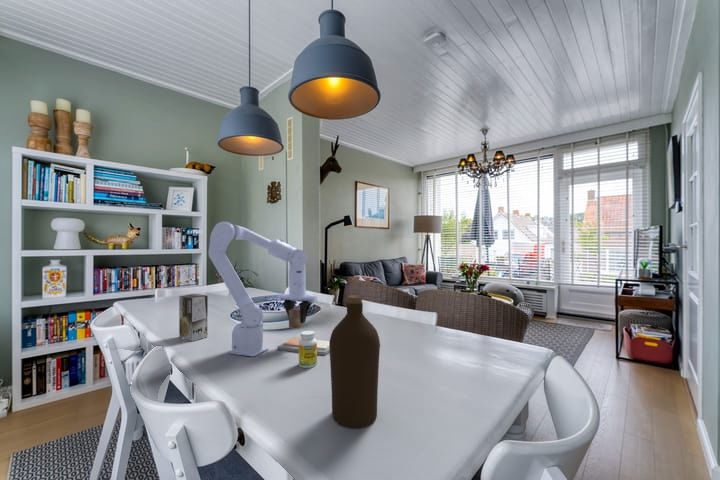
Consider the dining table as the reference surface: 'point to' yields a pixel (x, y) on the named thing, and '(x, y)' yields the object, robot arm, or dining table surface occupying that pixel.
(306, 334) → the supplement bottle
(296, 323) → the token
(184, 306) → the coffee box
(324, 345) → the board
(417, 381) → the dining table surface
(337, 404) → the olive oil
